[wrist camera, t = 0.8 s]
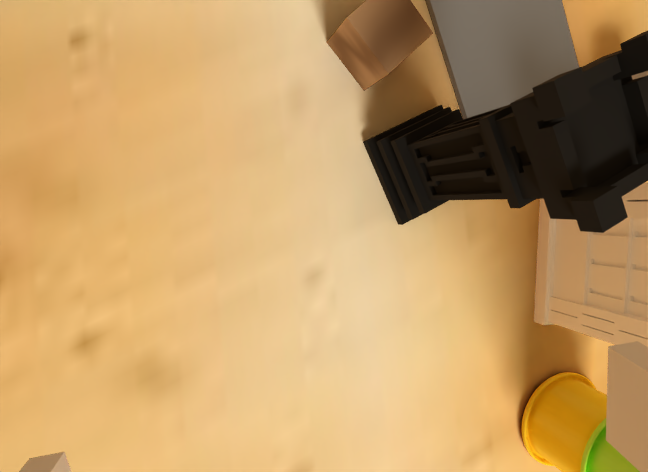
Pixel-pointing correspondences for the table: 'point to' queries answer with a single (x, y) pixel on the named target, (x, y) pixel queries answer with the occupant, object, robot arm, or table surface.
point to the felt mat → (501, 48)
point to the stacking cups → (570, 427)
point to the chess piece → (530, 147)
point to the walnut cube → (378, 38)
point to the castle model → (595, 274)
